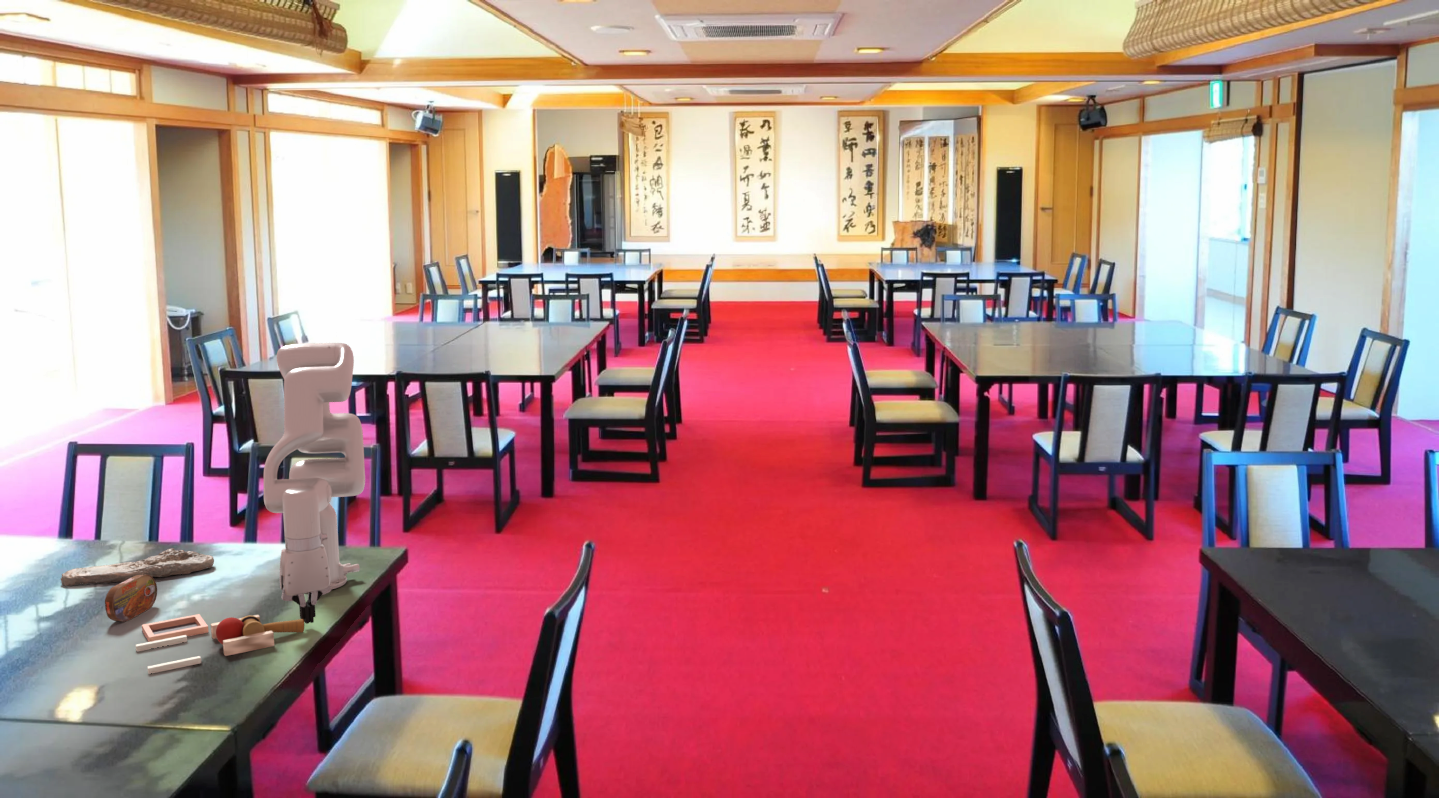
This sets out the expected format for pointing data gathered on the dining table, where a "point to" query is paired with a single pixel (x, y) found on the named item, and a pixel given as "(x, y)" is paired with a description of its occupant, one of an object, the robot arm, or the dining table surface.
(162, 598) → the dining table surface
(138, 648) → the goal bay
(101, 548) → the dining table surface
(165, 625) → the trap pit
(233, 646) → the lane
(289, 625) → the kendama
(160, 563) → the elongated rock
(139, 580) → the tin
